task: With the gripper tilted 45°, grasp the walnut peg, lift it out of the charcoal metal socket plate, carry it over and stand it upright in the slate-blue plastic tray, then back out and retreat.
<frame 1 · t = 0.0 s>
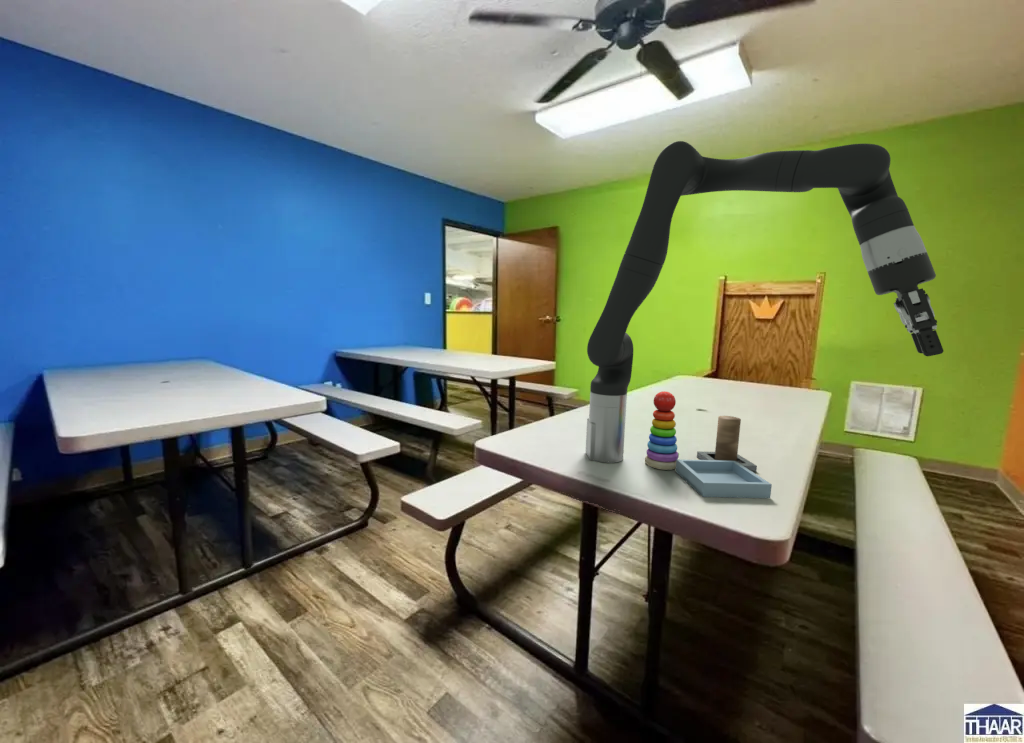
hand: (930, 353, 67), 31 cm above the table, tool tilted 20°, fingers open, 8 cm apart
walnut peg: (725, 464, 104), resting in socket plate
stacking toy: (661, 466, 102), on the table
tray: (719, 483, 91), on the table
socket plate: (725, 463, 104), on the table
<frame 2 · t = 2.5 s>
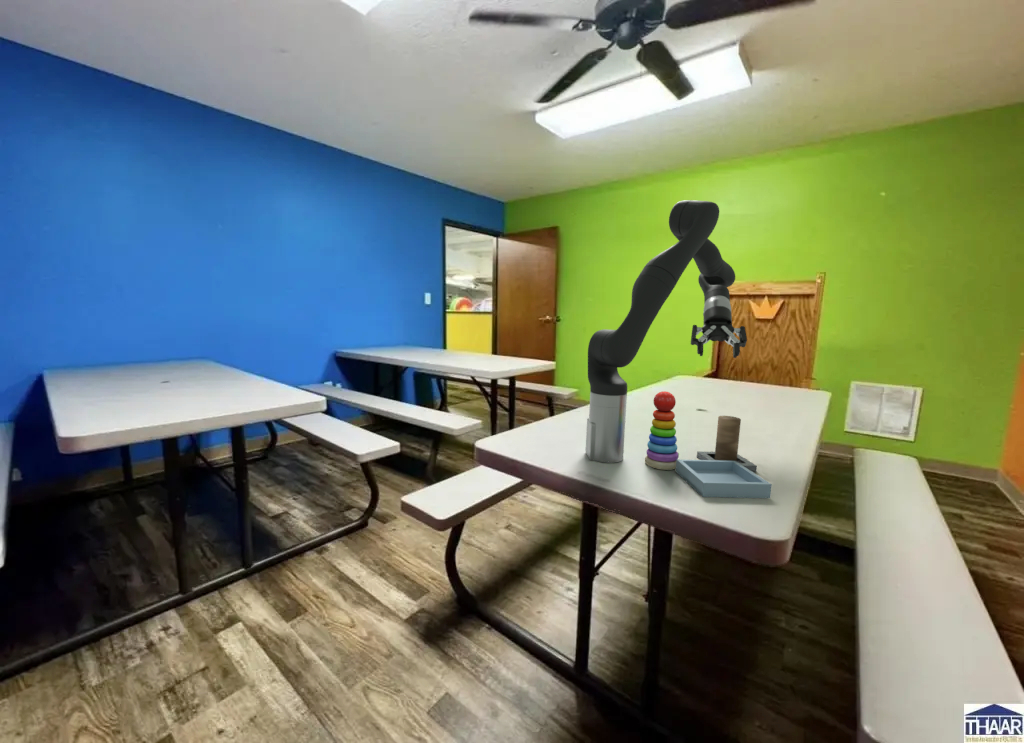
hand: (718, 355, 114), 27 cm above the table, tool tilted 45°, fingers open, 8 cm apart
nothing on the table moved.
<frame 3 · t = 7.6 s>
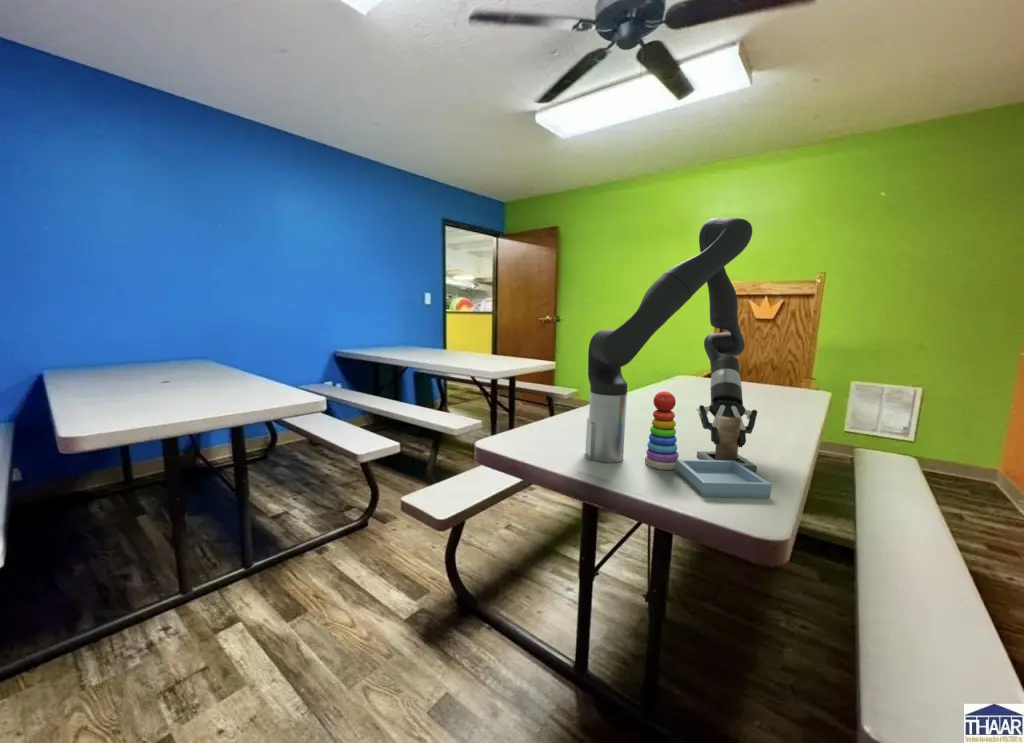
hand: (728, 444, 101), 6 cm above the table, tool tilted 45°, fingers closed on walnut peg, 5 cm apart
walnut peg: (725, 464, 104), resting in socket plate, touching gripper
everything else where it was.
when the fingers open (8 cm above the table, at t = 14.1 s): walnut peg drops 1 cm, resting on tray.
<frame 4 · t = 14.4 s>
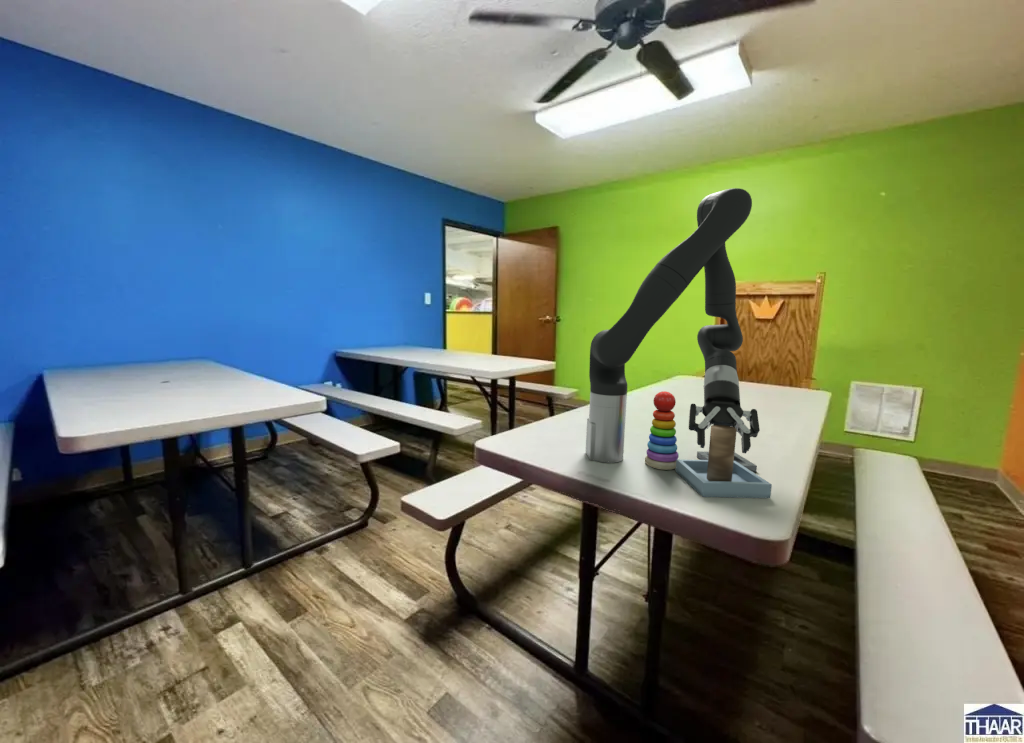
hand: (723, 448, 89), 8 cm above the table, tool tilted 45°, fingers open, 8 cm apart
walnut peg: (718, 479, 91), point 1 cm above the table, touching tray
everything else where it was.
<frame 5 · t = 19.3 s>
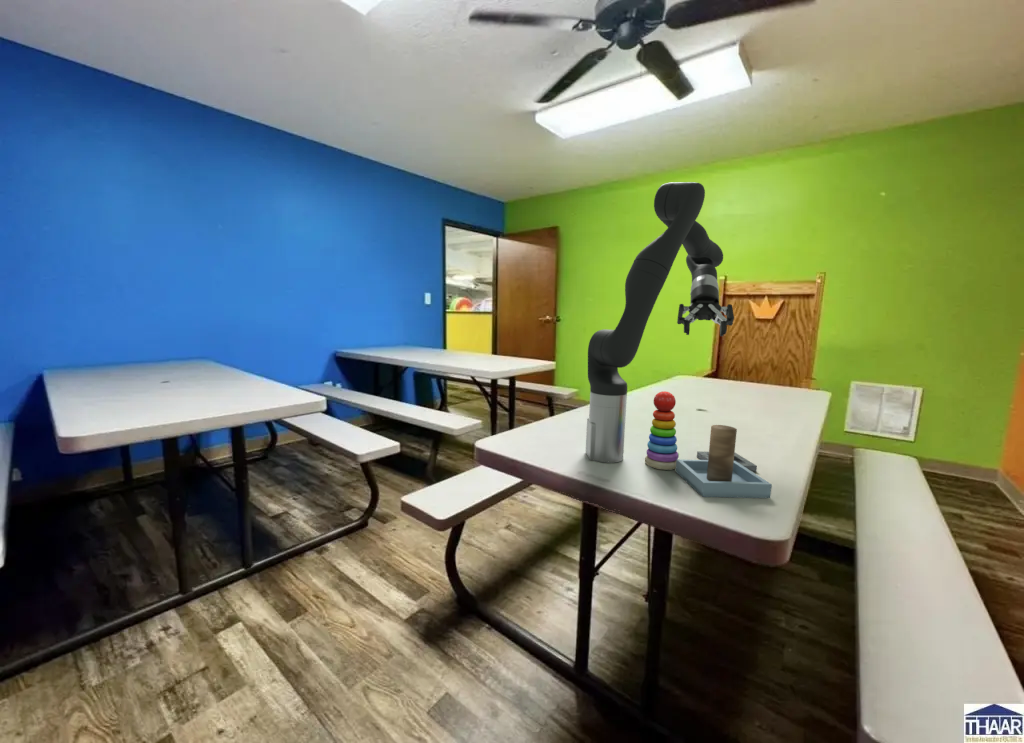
hand: (704, 333, 111), 33 cm above the table, tool tilted 45°, fingers open, 8 cm apart
nothing on the table moved.
at the end: walnut peg inside the target area on the tray (0.1 cm from its centre), point 0.8 cm above the tray's base; walnut peg tilted 0°; the gripper is holding nothing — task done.
